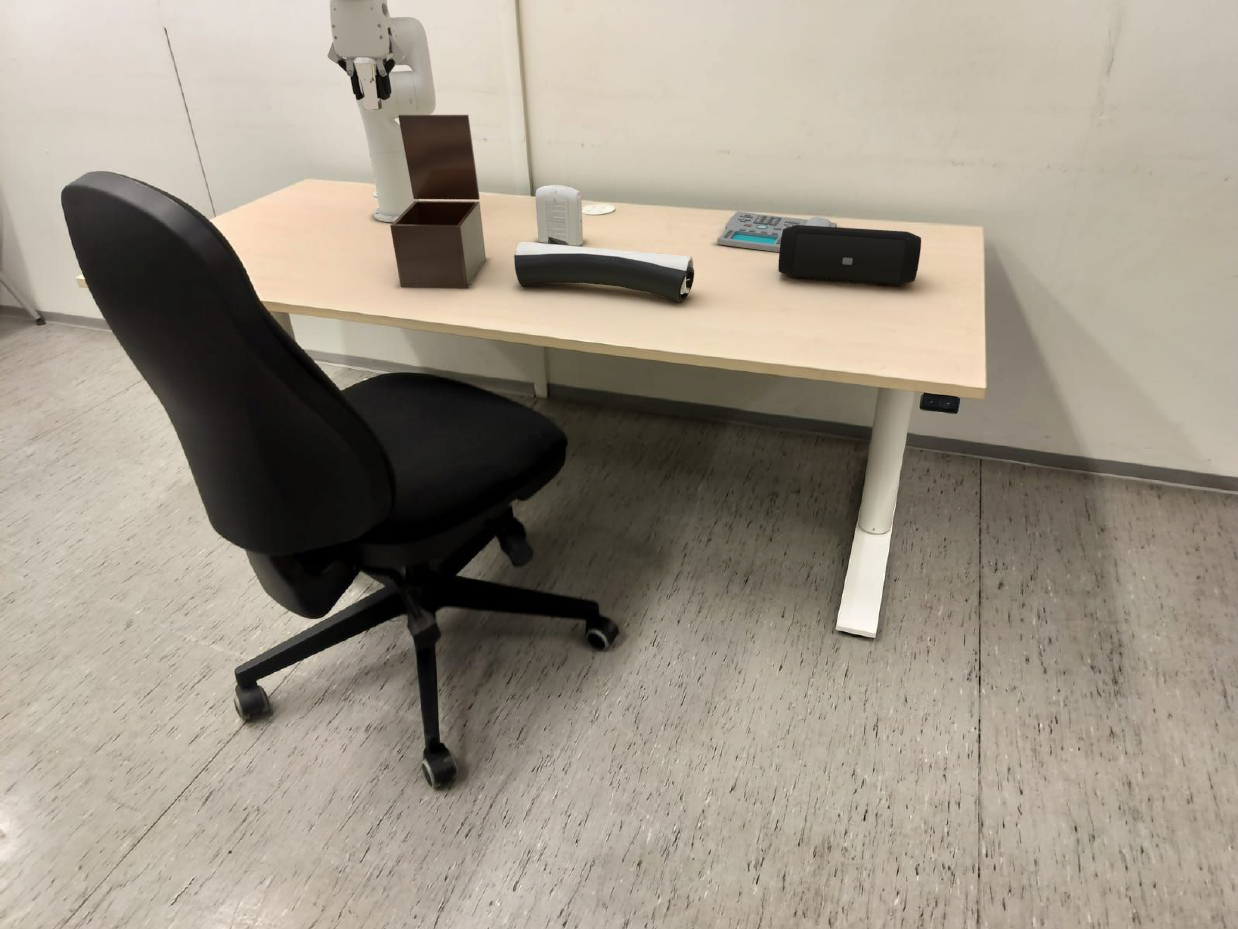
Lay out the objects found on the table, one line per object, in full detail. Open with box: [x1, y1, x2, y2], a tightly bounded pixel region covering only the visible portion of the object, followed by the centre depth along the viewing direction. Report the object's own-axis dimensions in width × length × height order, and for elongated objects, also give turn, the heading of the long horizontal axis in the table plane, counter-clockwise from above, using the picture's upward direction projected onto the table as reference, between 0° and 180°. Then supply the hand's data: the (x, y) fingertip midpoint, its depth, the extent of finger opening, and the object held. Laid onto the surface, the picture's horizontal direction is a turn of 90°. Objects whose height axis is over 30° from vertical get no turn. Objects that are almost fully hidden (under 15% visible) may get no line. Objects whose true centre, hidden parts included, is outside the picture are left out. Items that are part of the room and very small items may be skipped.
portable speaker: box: [777, 225, 922, 287], centre depth 163 cm, size 26×10×10 cm, turn 75°
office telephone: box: [716, 211, 838, 253], centre depth 187 cm, size 23×3×20 cm
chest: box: [389, 200, 487, 289], centre depth 170 cm, size 16×14×12 cm
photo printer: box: [535, 184, 584, 247], centre depth 184 cm, size 10×4×12 cm, turn 72°
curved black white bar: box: [513, 237, 695, 303], centre depth 163 cm, size 35×9×14 cm
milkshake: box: [353, 57, 382, 110], centre depth 154 cm, size 4×5×10 cm
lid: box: [398, 114, 481, 201], centre depth 168 cm, size 16×14×1 cm
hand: (373, 97), depth 156 cm, fingers closed on milkshake, 4 cm apart
